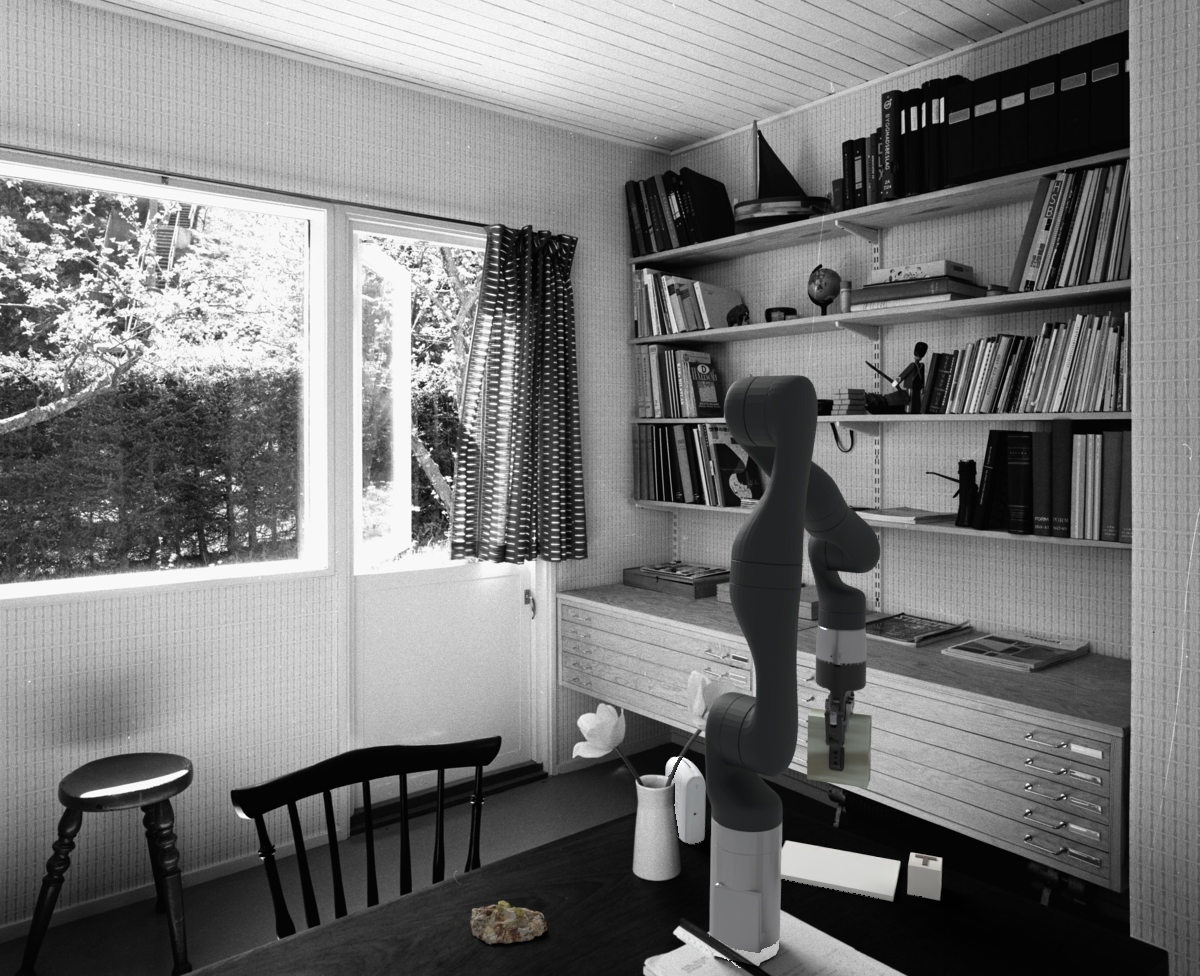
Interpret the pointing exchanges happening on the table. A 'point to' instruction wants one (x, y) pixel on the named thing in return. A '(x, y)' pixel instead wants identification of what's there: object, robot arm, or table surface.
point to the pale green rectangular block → (854, 755)
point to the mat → (839, 870)
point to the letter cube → (924, 876)
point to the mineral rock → (506, 923)
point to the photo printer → (688, 800)
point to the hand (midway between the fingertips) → (838, 764)
